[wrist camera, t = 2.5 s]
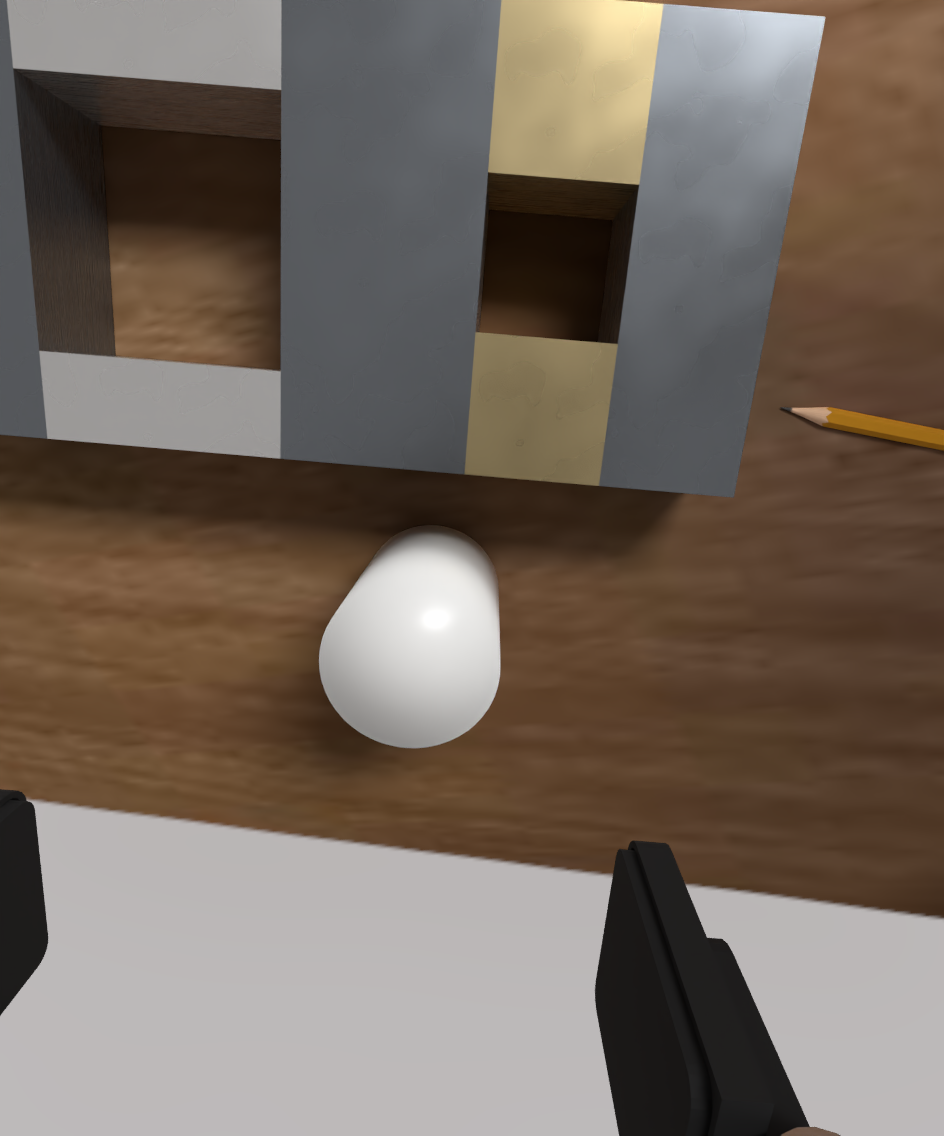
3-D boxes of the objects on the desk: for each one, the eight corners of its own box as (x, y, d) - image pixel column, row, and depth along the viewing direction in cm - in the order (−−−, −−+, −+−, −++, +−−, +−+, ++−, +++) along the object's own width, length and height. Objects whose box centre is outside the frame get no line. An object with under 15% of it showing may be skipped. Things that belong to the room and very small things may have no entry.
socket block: (-18, 23, 20) (-137, -60, 17) (762, 86, 20) (825, 17, 16) (22, 421, 24) (-69, 428, 20) (694, 478, 23) (733, 497, 20)
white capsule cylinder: (368, 519, 24) (320, 572, 18) (504, 531, 24) (508, 588, 18) (363, 645, 26) (317, 740, 19) (492, 657, 26) (491, 755, 19)
